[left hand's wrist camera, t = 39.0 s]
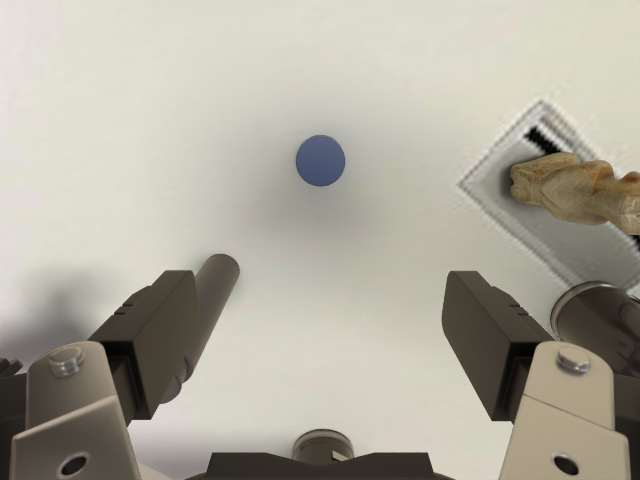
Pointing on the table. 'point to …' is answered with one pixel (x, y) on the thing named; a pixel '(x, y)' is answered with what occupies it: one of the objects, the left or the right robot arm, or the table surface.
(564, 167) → the sculpture
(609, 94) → the table surface
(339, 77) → the table surface
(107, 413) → the left robot arm
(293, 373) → the table surface
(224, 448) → the table surface
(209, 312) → the dark grey capped cylinder
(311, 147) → the lid
